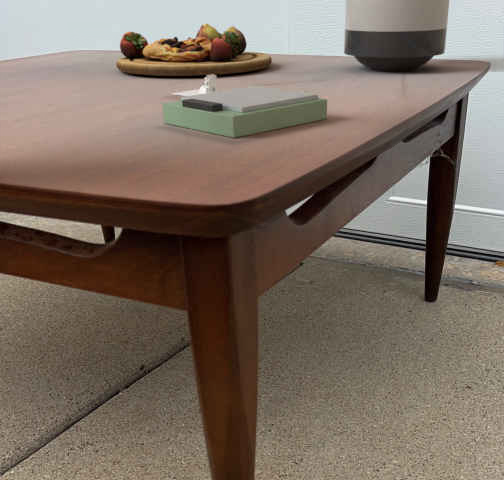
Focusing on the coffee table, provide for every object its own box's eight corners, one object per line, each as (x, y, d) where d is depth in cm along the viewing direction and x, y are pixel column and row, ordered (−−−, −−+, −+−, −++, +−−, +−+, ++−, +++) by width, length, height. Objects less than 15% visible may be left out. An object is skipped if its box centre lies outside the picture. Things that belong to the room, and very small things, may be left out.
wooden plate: (86, 77, 135) (80, 32, 132) (161, 59, 162) (159, 21, 158) (237, 81, 124) (235, 32, 121) (291, 61, 151) (291, 21, 148)
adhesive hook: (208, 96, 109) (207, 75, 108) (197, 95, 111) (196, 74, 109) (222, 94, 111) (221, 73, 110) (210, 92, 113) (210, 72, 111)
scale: (233, 138, 80) (233, 109, 78) (163, 123, 89) (161, 96, 88) (327, 118, 89) (327, 92, 88) (254, 107, 99) (254, 83, 98)
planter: (335, 74, 130) (338, -30, 123) (351, 62, 147) (355, -29, 140) (440, 75, 125) (450, -33, 118) (445, 63, 142) (454, -32, 134)
